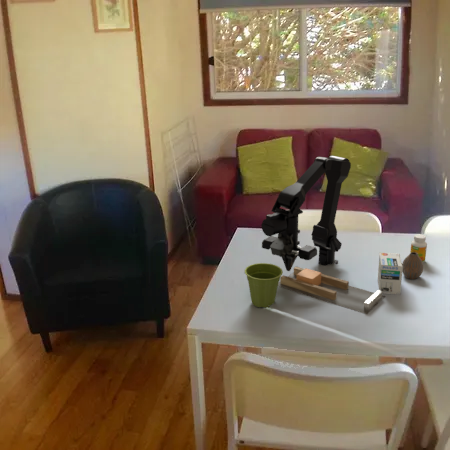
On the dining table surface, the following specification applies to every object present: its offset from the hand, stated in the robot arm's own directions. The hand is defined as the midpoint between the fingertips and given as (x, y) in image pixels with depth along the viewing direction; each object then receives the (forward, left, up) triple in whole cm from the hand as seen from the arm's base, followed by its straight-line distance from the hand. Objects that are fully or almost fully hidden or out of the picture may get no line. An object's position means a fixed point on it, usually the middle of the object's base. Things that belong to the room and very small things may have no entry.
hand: (288, 270), depth 184 cm
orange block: (0, +8, -3) cm, 9 cm away
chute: (0, +16, -4) cm, 16 cm away
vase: (-27, +33, -4) cm, 43 cm away
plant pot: (+18, +2, -4) cm, 19 cm away
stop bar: (0, +31, -3) cm, 31 cm away
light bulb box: (-14, +30, -4) cm, 33 cm away
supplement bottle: (-41, +30, -4) cm, 51 cm away
